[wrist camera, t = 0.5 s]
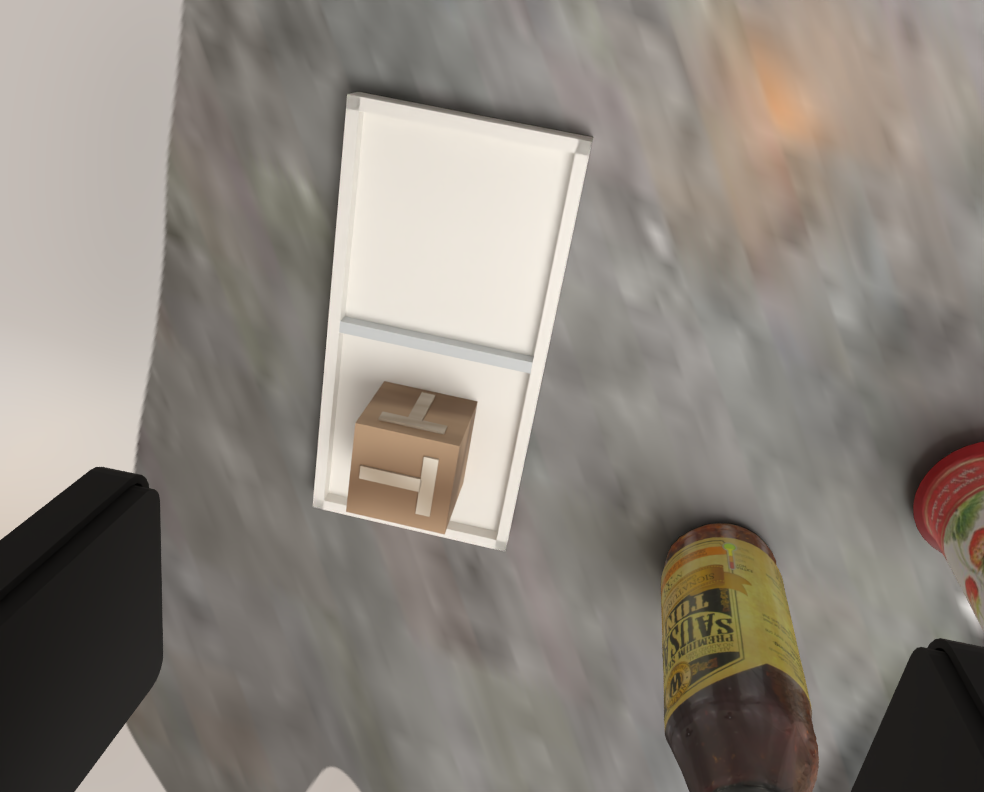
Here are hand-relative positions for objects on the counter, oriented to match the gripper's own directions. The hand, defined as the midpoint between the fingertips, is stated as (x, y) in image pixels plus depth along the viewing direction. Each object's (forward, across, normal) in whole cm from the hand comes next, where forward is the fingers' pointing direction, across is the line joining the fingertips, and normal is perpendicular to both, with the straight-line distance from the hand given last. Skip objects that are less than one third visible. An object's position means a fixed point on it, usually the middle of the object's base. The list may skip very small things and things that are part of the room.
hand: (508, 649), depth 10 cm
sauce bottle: (+32, -10, +18) cm, 38 cm away
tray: (+31, +6, +7) cm, 33 cm away
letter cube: (+31, +6, +13) cm, 34 cm away
